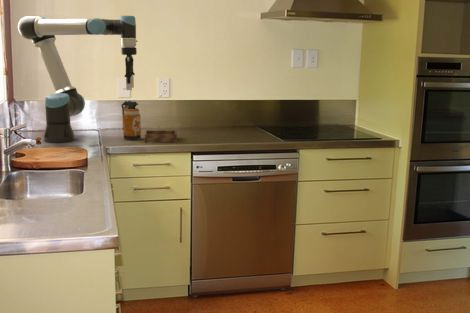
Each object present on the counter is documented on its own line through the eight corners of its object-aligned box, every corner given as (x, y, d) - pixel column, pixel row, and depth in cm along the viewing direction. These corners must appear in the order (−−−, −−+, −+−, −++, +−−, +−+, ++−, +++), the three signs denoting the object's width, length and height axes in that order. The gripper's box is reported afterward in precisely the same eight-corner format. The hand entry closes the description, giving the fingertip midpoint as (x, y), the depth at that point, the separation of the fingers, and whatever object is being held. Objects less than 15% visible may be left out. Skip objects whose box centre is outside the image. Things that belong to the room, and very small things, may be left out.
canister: (131, 141, 280) (130, 102, 276) (117, 138, 287) (116, 100, 282) (144, 138, 287) (143, 101, 283) (130, 136, 294) (129, 99, 289)
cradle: (145, 142, 277) (145, 134, 276) (146, 137, 291) (146, 130, 290) (176, 142, 279) (176, 134, 278) (176, 137, 293) (176, 130, 292)
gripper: (134, 47, 265) (135, 91, 270) (137, 46, 289) (138, 86, 294) (119, 47, 264) (120, 91, 269) (123, 46, 289) (124, 86, 293)
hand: (130, 88), depth 281 cm, fingers open, 13 cm apart
